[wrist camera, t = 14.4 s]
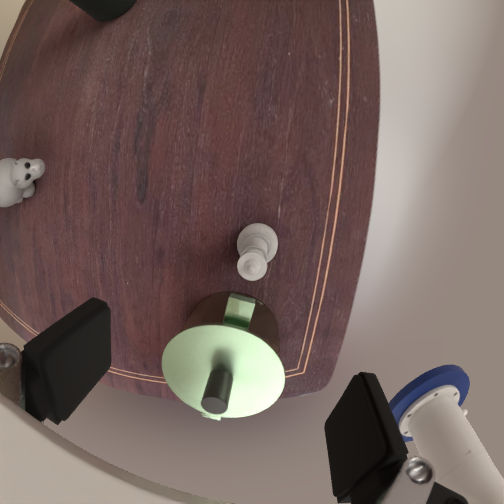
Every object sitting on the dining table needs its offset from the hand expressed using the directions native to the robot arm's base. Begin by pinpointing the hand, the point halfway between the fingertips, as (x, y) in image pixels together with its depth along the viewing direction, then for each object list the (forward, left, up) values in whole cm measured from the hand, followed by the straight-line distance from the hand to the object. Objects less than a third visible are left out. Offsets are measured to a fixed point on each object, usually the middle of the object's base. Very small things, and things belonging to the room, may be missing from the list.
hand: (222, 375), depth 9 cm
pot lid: (0, +12, -14) cm, 18 cm away
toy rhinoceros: (+35, -2, -22) cm, 41 cm away
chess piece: (0, 0, -22) cm, 22 cm away
